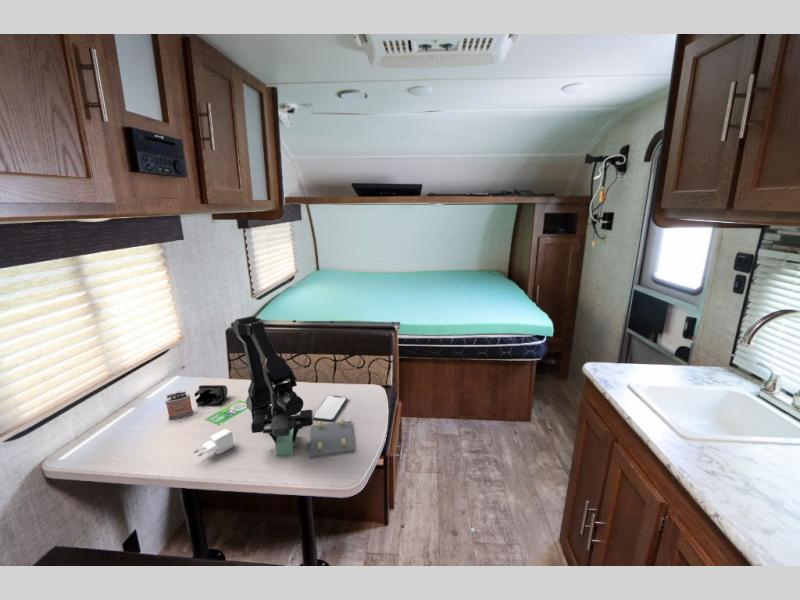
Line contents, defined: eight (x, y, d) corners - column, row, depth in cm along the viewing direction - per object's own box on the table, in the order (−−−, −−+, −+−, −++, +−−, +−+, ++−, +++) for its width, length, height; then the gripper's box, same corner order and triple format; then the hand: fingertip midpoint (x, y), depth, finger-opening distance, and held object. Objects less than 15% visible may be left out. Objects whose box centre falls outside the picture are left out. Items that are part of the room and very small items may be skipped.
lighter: (192, 409, 143) (188, 387, 140) (193, 414, 140) (189, 390, 137) (168, 416, 138) (163, 393, 136) (169, 421, 136) (163, 397, 133)
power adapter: (201, 466, 112) (198, 450, 111) (194, 460, 115) (191, 444, 114) (235, 447, 121) (233, 431, 119) (228, 441, 124) (225, 426, 122)
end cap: (228, 397, 152) (226, 382, 150) (220, 406, 145) (218, 391, 143) (205, 397, 152) (202, 382, 150) (195, 406, 145) (192, 391, 143)
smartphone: (333, 424, 134) (348, 400, 149) (333, 420, 133) (348, 396, 148) (311, 421, 136) (328, 398, 150) (310, 417, 135) (327, 394, 150)
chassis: (309, 458, 115) (308, 448, 114) (311, 428, 130) (310, 419, 129) (354, 451, 118) (353, 442, 117) (350, 423, 133) (350, 414, 132)
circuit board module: (276, 456, 117) (275, 444, 115) (279, 438, 125) (278, 427, 124) (292, 453, 117) (291, 441, 116) (294, 436, 126) (293, 425, 125)
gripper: (244, 419, 107) (251, 463, 112) (309, 411, 111) (313, 455, 115) (251, 399, 118) (257, 441, 122) (311, 393, 121) (314, 433, 126)
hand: (285, 443), depth 121 cm, fingers closed on circuit board module, 5 cm apart
